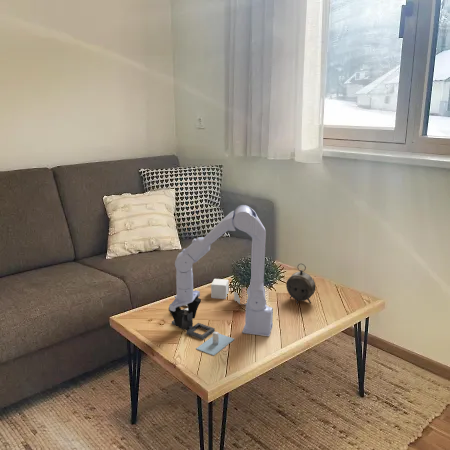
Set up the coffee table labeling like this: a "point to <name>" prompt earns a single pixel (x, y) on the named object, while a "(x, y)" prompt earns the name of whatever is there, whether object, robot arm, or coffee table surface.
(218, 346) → the keeper
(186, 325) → the grey block with tab
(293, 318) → the coffee table surface
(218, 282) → the white cube
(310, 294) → the alarm clock
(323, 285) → the coffee table surface
